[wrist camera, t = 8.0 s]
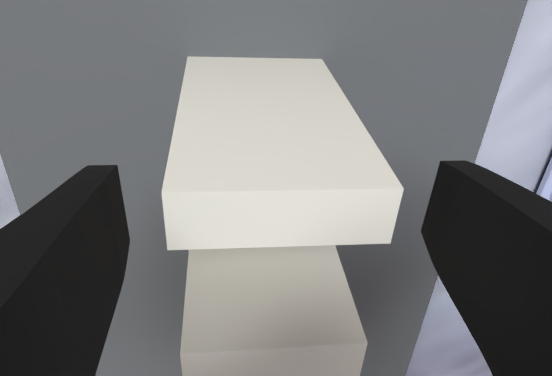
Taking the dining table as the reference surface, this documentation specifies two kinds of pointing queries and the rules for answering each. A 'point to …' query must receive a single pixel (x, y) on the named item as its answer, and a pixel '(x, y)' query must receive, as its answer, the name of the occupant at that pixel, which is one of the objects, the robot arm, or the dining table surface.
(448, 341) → the dining table surface
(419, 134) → the mat
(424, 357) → the dining table surface
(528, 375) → the robot arm
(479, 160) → the dining table surface
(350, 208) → the domino
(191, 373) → the domino
